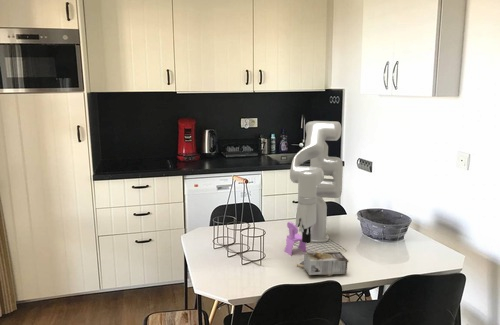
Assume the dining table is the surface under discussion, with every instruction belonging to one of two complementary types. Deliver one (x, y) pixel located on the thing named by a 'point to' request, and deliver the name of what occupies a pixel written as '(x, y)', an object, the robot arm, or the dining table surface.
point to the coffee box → (325, 263)
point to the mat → (304, 268)
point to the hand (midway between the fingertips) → (306, 242)
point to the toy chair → (293, 239)
